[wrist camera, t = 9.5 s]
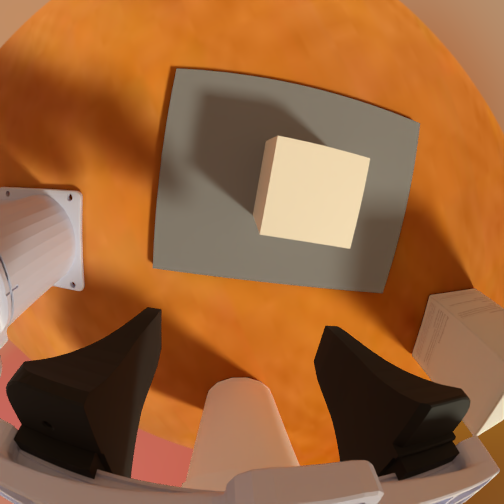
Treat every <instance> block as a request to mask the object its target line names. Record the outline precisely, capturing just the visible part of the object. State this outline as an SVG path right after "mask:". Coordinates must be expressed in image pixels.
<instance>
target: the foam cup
mask: <svg viewBox="0 0 504 504" xmlns="http://www.w3.org/2000/svg"><path fill="white" fill-rule="evenodd" d="M291 466H299V463H298V461H297V458H296V456H295V453H294V451H293V448H292V445H291V443H290V440H289V438H288V435H287V433H286V430H285V428H284V425H283V422H282V420H281V417H280V414H279V412H278V409H277V407H276V404H275V401H274V399H273V396H272V393H271V392H270V389H269V388H268V387H267V386H265V385H264V384H263V383H262V382H261V381H257V380H254V379H251V378H247V377H242V378H229V379H226V380H223V381H220V382H217V383H216V384H215V385H214V386H213V387H212V388H211V389H210V390H209V391H208V395H207V398H206V402H205V406H204V410H203V414H202V418H201V422H200V426H199V430H198V434H197V438H196V442H195V446H194V450H193V454H192V458H191V462H190V466H189V470H188V474H187V478H186V482H184V483H182V488H191V489H200V490H212V491H225V490H226V486H227V483H228V482H229V481H230V480H231V479H232V478H233V477H234V476H236V475H237V474H240V473H243V472H246V471H249V470H252V469H261V468H269V467H291Z"/></svg>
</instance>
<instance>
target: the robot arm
mask: <svg viewBox="0 0 504 504" xmlns="http://www.w3.org/2000/svg"><path fill="white" fill-rule="evenodd" d="M9 192H10V195H9ZM70 194H71V195H72V200H70V198H69V196H70ZM82 200H83V197H82V194H81V192H80V191H75V190H59V189H42V188H20V187H1V188H0V349H1V348H2V347H3V345H4V344H5V343H6V342H7V341H8V338H7V328H8V326H9V325H10V324H11V323H12V322H13V321H15V320H16V319H17V318H18V317H19V316H20V315H21V314H22V313H23V312H24V311H25V310H26V309H27V308H28V307H29V306H30V305H31V304H33V303H34V302H35V301H36V300H37V299H38V298H39V297H40V296H41V295H43V294H44V293H45V292H46V291H47V290H48V289H49V288H50V287H52V286H56V287H61V288H66V289H70V290H75V291H81V290H83V289H84V286H85V284H84V270H83V249H82ZM72 282H74V283H75V286H74V285H73V283H72ZM160 352H161V309H155V308H149V307H148V308H146V309H145V310H143V311H142V312H141V313H139V314H138V315H137V316H136V317H134V318H133V319H132V320H130V321H129V322H128V323H126V324H125V325H123V326H122V327H121V328H119V329H118V330H116V331H114V332H113V333H111V334H110V335H108V336H107V337H105V338H103V339H101V340H99V341H97V342H95V343H93V344H91V345H89V346H87V347H84V348H81V349H79V350H76V351H73V352H71V353H68V354H64V355H61V356H57V357H52V358H47V359H41V360H34V361H25V362H24V363H23V364H22V365H21V367H20V368H19V369H18V370H17V372H16V373H15V374H14V376H13V377H12V378H11V380H10V381H9V382H8V384H7V387H6V392H7V396H8V399H9V401H10V403H11V405H12V407H13V409H14V411H15V413H16V415H17V417H18V418H19V420H20V422H21V424H22V425H21V427H20V428H19V430H17V429H16V428H15V427H14V426H13V425H11V424H10V423H8V422H6V421H4V420H2V419H0V495H1V496H2V497H4V498H5V499H7V500H9V501H10V502H12V503H14V504H462V503H464V502H465V501H467V500H468V499H469V498H470V497H472V496H473V495H474V494H475V493H476V492H478V491H479V490H480V489H481V488H482V487H484V486H485V485H486V484H487V483H488V482H489V481H490V480H491V479H492V478H493V477H494V476H496V475H497V474H498V473H499V471H500V469H499V468H498V466H497V465H496V463H495V462H494V460H493V459H492V457H491V456H490V454H489V453H488V451H487V450H486V448H485V447H484V445H483V444H482V443H481V441H480V440H479V438H478V437H477V436H473V437H470V438H468V439H466V440H464V441H461V442H460V443H458V444H457V445H456V446H455V444H454V443H453V440H454V439H455V437H456V436H455V435H454V433H453V431H454V429H455V428H456V427H457V426H458V424H459V423H460V422H461V420H462V419H463V418H464V416H465V415H466V413H467V412H468V409H469V407H470V399H469V397H468V396H467V395H466V393H465V392H464V391H463V390H462V389H461V388H456V387H451V386H447V385H442V384H438V383H435V382H432V381H428V380H426V379H423V378H420V377H418V376H415V375H413V374H410V373H408V372H406V371H404V370H402V369H400V368H398V367H396V366H395V365H393V364H391V363H389V362H388V361H386V360H384V359H383V358H381V357H380V356H378V355H377V354H375V353H374V352H372V351H371V350H370V349H368V348H367V347H365V346H364V345H363V344H361V343H360V342H359V341H357V340H356V339H355V338H354V337H352V336H351V335H350V334H348V333H347V332H345V331H344V330H343V329H341V328H339V327H338V326H325V329H324V332H323V335H322V338H321V341H320V344H319V347H318V350H317V353H316V356H315V359H314V365H315V370H316V375H317V379H318V382H319V385H320V388H321V391H322V393H323V396H324V399H325V401H326V404H327V407H328V410H329V412H330V415H331V418H332V421H333V425H334V430H335V434H336V439H337V444H338V450H339V456H340V462H335V463H327V464H318V465H306V466H291V467H269V468H261V469H252V470H249V471H246V472H243V473H240V474H237V475H236V476H234V477H233V478H232V479H231V480H230V481H229V482H228V483H227V486H226V490H225V491H212V490H200V489H191V488H182V487H175V486H168V485H162V484H156V483H151V482H146V481H141V480H136V479H132V478H131V470H132V462H133V455H134V448H135V442H136V435H137V430H138V426H139V421H140V416H141V411H142V408H143V405H144V402H145V399H146V396H147V393H148V390H149V388H150V385H151V382H152V379H153V377H154V374H155V371H156V368H157V365H158V361H159V356H160ZM1 372H2V360H1V357H0V376H1Z"/></svg>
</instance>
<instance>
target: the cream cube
mask: <svg viewBox="0 0 504 504" xmlns="http://www.w3.org/2000/svg"><path fill="white" fill-rule="evenodd" d="M369 163H370V158H367V157H364V156H360V155H357V154H353V153H350V152H346V151H342V150H339V149H335V148H331V147H327V146H323V145H319V144H315V143H310V142H306V141H301V140H297V139H292V138H288V137H283V136H276V137H274V138H271V139H269V140H267V141H266V143H265V149H264V154H263V160H262V166H261V171H260V177H259V183H258V188H257V194H256V200H255V205H254V211H253V217H254V220H255V223H256V225H257V228H258V231H259V234H260V235H266V236H272V237H279V238H285V239H292V240H298V241H305V242H311V243H317V244H323V245H330V246H336V247H342V248H348V249H350V247H351V243H352V239H353V235H354V231H355V227H356V223H357V219H358V215H359V211H360V206H361V202H362V197H363V192H364V188H365V183H366V178H367V173H368V168H369Z"/></svg>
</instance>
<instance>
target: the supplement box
mask: <svg viewBox="0 0 504 504" xmlns="http://www.w3.org/2000/svg"><path fill="white" fill-rule="evenodd" d="M412 356H413V357H414V359H415V360H416V361H417V362H418V364H419V365H420V366H421V367H422V369H423V370H424V371H425V372H426V374H427V375H428V376H429V377H430V379H431V380H432V381H433V382H435V383H438V384H442V385H447V386H451V387H456V388H461V389H462V390H463V391H464V392H465V393H466V395H467V396H468V397H469V399H470V407H469V409H468V412H467V413H466V415H465V416H464V418H463V419H462V421H463V422H464V423H465V425H466V426H467V427H468V429H469V430H470V431H471V433H472V435H473V436H478V435H480V434H481V433H483V432H485V431H486V430H488V429H489V428H491V427H493V426H494V425H496V424H497V423H499V422H500V421H502V420H503V419H504V309H503V308H502V307H501V306H499V305H498V304H496V303H495V302H494V301H492V300H491V299H489V298H488V297H487V296H485V295H484V294H482V293H481V292H479V291H478V290H477V289H475V288H473V289H467V290H460V291H454V292H447V293H440V294H433V295H430V296H429V299H428V303H427V306H426V310H425V314H424V317H423V320H422V324H421V327H420V330H419V333H418V337H417V340H416V343H415V346H414V349H413V352H412Z"/></svg>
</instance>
